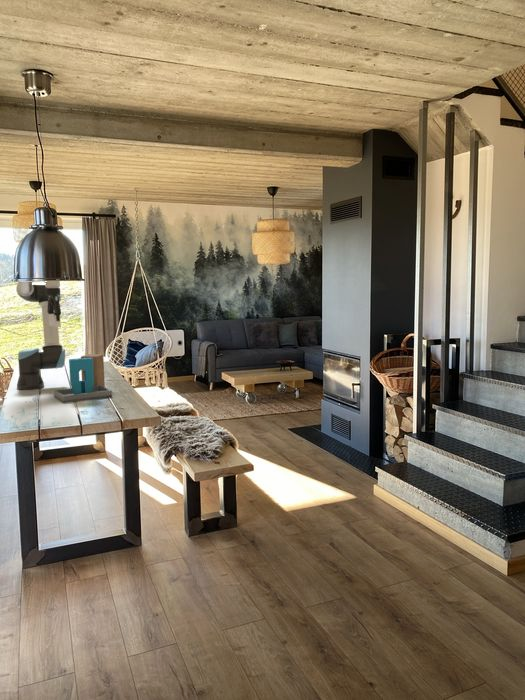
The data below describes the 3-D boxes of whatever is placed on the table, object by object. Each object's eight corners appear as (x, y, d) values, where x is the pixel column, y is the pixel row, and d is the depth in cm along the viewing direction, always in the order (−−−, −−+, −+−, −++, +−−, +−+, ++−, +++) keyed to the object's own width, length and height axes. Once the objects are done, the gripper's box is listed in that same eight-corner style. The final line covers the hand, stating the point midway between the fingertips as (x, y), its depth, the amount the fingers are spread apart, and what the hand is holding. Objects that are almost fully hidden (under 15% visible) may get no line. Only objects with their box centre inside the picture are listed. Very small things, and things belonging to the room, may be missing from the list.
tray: (54, 396, 309) (53, 390, 309) (100, 390, 323) (100, 385, 323) (63, 402, 292) (63, 396, 292) (112, 396, 307) (111, 390, 306)
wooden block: (97, 390, 325) (95, 356, 323) (81, 389, 327) (79, 356, 325) (105, 387, 335) (103, 354, 332) (90, 386, 337) (88, 353, 334)
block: (93, 392, 313) (91, 357, 310) (94, 394, 308) (93, 358, 306) (70, 395, 307) (68, 359, 305) (72, 396, 303) (70, 360, 300)
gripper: (40, 287, 313) (42, 325, 316) (51, 287, 293) (53, 328, 295) (54, 287, 317) (56, 324, 320) (65, 287, 297) (67, 327, 299)
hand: (54, 326), depth 308 cm, fingers open, 13 cm apart
